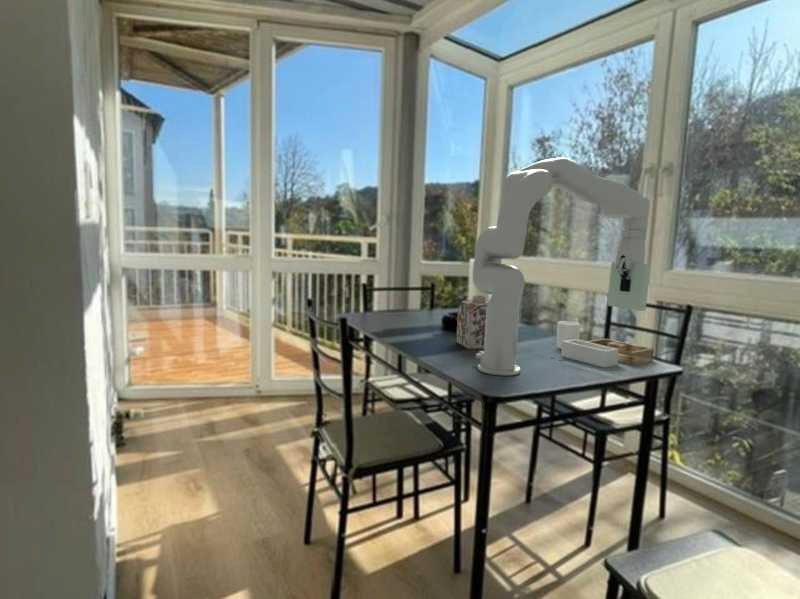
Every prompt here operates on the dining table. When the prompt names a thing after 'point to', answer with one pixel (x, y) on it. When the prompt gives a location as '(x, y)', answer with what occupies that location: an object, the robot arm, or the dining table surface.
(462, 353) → the dining table surface
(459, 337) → the decorative jar
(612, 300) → the tall sheet
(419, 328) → the dining table surface
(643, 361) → the rack
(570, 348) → the holder
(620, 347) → the offcut short
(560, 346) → the white cup
